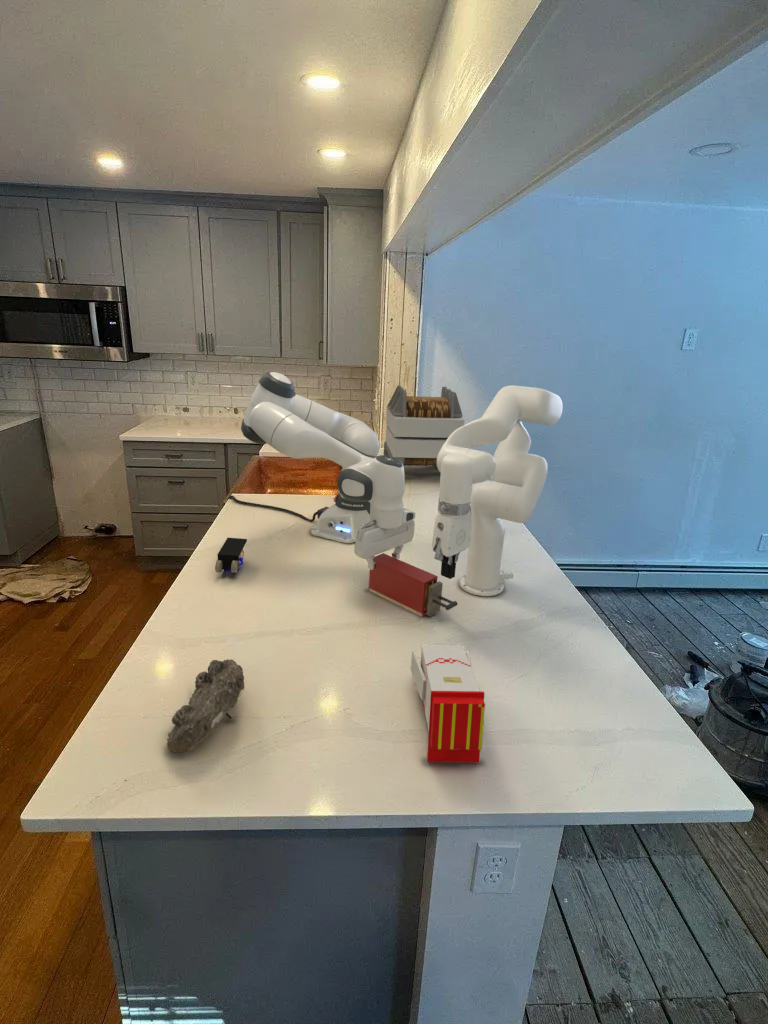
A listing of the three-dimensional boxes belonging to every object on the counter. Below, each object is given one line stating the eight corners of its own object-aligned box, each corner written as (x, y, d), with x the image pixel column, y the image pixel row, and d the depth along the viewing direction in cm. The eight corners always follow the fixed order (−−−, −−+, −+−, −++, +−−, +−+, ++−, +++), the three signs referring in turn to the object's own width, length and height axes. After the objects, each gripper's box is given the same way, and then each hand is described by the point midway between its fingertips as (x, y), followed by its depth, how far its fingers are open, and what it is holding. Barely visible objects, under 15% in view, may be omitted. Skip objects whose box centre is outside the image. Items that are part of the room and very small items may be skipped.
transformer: (382, 463, 289) (386, 382, 275) (445, 464, 293) (451, 384, 279) (390, 482, 257) (394, 392, 243) (460, 483, 261) (468, 394, 247)
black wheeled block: (238, 584, 162) (249, 557, 175) (236, 562, 158) (247, 536, 172) (215, 584, 161) (227, 556, 175) (212, 561, 158) (225, 535, 171)
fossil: (192, 660, 117) (244, 628, 112) (224, 691, 120) (276, 661, 115) (142, 746, 98) (202, 712, 93) (182, 779, 101) (242, 748, 96)
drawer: (456, 618, 145) (459, 589, 142) (446, 624, 142) (449, 595, 139) (388, 586, 160) (390, 560, 157) (378, 591, 157) (379, 564, 154)
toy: (464, 627, 124) (494, 699, 95) (461, 683, 127) (489, 770, 98) (409, 626, 124) (422, 698, 94) (407, 682, 127) (419, 769, 97)
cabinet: (435, 609, 150) (437, 576, 147) (421, 616, 147) (424, 582, 143) (382, 584, 163) (383, 553, 159) (368, 590, 159) (369, 558, 156)
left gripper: (367, 529, 142) (365, 579, 147) (419, 511, 156) (416, 557, 161) (349, 522, 146) (348, 570, 151) (402, 505, 160) (399, 550, 165)
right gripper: (447, 518, 127) (441, 591, 133) (484, 504, 138) (477, 572, 144) (421, 509, 132) (416, 580, 138) (459, 496, 142) (453, 563, 149)
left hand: (384, 563), depth 156 cm, fingers open, 8 cm apart
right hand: (447, 576), depth 141 cm, fingers closed
